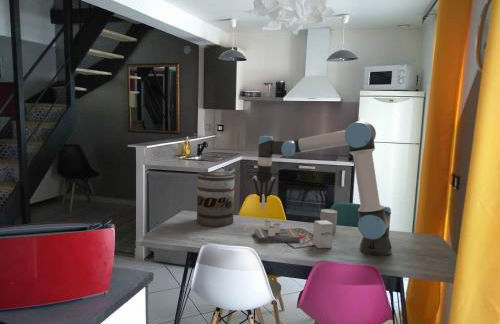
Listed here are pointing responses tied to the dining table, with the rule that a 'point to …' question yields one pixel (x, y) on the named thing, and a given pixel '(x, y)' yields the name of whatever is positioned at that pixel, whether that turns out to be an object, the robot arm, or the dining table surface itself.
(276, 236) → the panel
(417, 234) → the dining table surface
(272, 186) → the robot arm
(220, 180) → the barrel
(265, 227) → the breaker
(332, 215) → the grey block
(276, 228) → the breaker mid
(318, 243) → the supplement box
